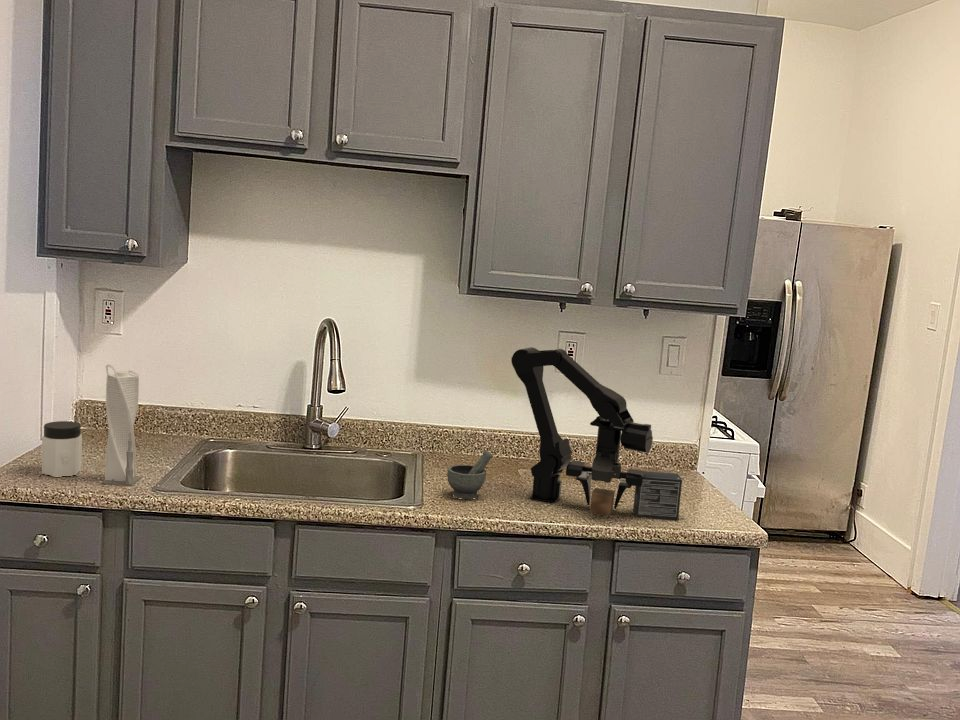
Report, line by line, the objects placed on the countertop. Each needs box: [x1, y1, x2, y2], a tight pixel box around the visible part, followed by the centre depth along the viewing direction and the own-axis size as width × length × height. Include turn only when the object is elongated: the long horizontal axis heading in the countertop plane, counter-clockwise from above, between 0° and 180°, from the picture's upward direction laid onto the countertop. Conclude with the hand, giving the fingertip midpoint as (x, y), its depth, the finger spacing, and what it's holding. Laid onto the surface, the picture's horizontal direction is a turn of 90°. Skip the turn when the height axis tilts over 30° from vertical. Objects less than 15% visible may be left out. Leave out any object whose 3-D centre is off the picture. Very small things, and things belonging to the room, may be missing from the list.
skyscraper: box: [101, 364, 143, 487], centre depth 223 cm, size 8×8×28 cm
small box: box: [632, 470, 683, 521], centre depth 232 cm, size 11×6×10 cm, turn 89°
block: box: [589, 487, 616, 516], centre depth 232 cm, size 5×5×5 cm
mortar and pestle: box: [446, 449, 494, 500], centre depth 234 cm, size 11×9×12 cm
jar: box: [41, 420, 83, 476], centre depth 226 cm, size 9×8×12 cm
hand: (601, 506), depth 232 cm, fingers open, 6 cm apart
